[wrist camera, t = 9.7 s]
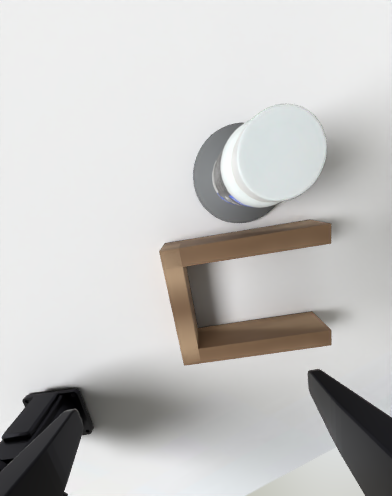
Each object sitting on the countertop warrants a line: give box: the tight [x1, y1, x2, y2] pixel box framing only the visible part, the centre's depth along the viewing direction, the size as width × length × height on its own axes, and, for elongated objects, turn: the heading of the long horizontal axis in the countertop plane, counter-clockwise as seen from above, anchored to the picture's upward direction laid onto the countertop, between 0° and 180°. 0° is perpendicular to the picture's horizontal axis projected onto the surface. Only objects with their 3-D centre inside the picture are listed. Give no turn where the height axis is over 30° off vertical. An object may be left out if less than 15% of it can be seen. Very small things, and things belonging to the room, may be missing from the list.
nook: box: [159, 220, 331, 366], centre depth 18 cm, size 11×14×3 cm
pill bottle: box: [212, 104, 327, 208], centre depth 13 cm, size 5×5×8 cm
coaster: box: [193, 123, 275, 223], centre depth 17 cm, size 8×8×1 cm
